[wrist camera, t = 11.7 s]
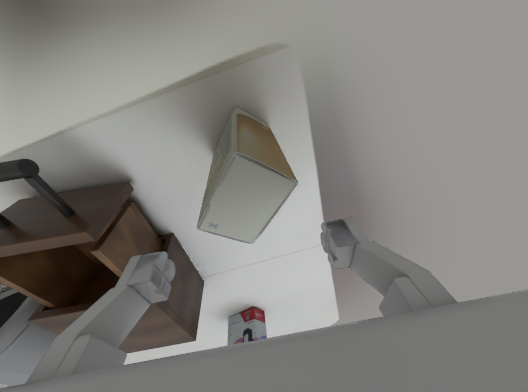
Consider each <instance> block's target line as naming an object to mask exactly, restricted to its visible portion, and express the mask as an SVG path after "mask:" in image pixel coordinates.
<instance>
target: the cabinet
mask: <svg viewBox="0 0 528 392" xmlns="http://www.w3.org/2000/svg"><path fill="white" fill-rule="evenodd" d="M158 237H159V239H160V240H161V242H162V243H163V244H164V246H163V248H162V251H165V252H166V253H167V254H168V259H170V260H172V261H173V262H174V265H175V276H174V279H173V280H172V281H171V282H170V285H171V290H170V294H169V297H168V300H166V301H161V302H156V303H152V304H150V306H149V308H148V309H147V310H146V311H145V313H144V314H143V315H142V317H141V318H140V319H139V321H138V322H137V323H136V325H135V326H134V327H133V329H132V330H131V331H130V333H129V334H128V335H127V336H126V338H125V339H124V340H123V342H122V343H121V344H120V346H119V347H118V349H120V350H122V351H124V352H126V353H132V352H137V351H143V350H148V349H153V348H159V347H164V346H170V345H175V344H181V343H186V342H192V341H196V335H197V328H198V321H199V314H200V307H201V300H202V293H203V286H204V281H203V279H202V278H201V276H200V275H199V273H198V272H197V270H196V268H195V267H194V265H193V264H192V262H191V260H190V259H189V257H188V256H187V254H186V253H185V251H184V249H183V248H182V246H181V245H180V243H179V242H178V240H177V238H176V237H175V235H174V234H173V233H172V234H167V235H161V236H158ZM162 251H161V252H162ZM96 302H97V301H96ZM96 302H91V303H85V304H79V305H74V306H68V307H63V308H57V309H51V308H49V307H47V306H45V305H43V304H40V305H39V307H38V308H37V309H36V310H35V313H33V314H32V315H31V317H30V318H29V319H28V322H30V323H33V324H35V325H37V326H40V327H42V328H44V329H47V330H49V331H51V332H54V333H56V334H58V335H60V334H61V333H62V332H63V331H64V330H65V329H66V328H68V327H69V326H70V325H71V324H72V323H73V322H74V321H75V320H77V319H78V318H79V317H80V316H81V315H82V314H83V313H84V312H85V311H87V310H88V309H89V308H90V307H91V306H92V305H93V304H94V303H96Z"/></svg>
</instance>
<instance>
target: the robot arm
mask: <svg viewBox="0 0 528 392" xmlns="http://www.w3.org/2000/svg"><path fill="white" fill-rule="evenodd" d="M321 229H322V231H323V232H322V233H321V244H322V247H323V249H324V251H325V252H326V253H328V260H329V262H330V264H331V267H332V268H333V270H336V269H342V268H349V267H350V269H351V270H353V271H354V272H355V273H356V274H358V275H359V276H360V277H361V278H362V279H364V280H365V281H366V282H367V283H369V284H370V285H371V286H372V287H374V288H375V289H376V290H377V291H379V292H380V293H381V294H382V295H383V296H385V297H384V299H383V301H382V302H381V304H380V307H379V309H380V311H381V312H382V314H383V316H384V317H379V318H373V319H368V320H363V321H357V322H352V323H347V324H341V325H336V326H330V327H325V328H320V329H314V330H309V331H304V332H298V333H293V334H288V335H282V336H277V337H272V338H266V339H261V340H256V341H250V342H245V343H240V344H234V345H229V346H224V347H218V348H213V349H208V350H202V351H197V352H192V353H186V354H181V355H176V356H170V357H165V358H160V359H154V360H149V361H144V362H138V363H133V364H128V365H123V364H124V362H125V359H126V356H127V355H126V352H124V351H122V350H120V349H118V347H119V346H120V344H121V343H122V342H123V340H124V339H125V338H126V336H127V335H128V334H129V333H130V331H131V330H132V329H133V327H134V326H135V325H136V323H137V322H138V321H139V319H140V318H141V317H142V315H143V314H144V313H145V311H146V310H147V309H148V308H149V306H150V304H152V303H156V302H161V301H166V300H168V297H169V294H170V290H171V285H170V282H171V281H172V280H173V279H174V276H175V265H174V262H173V261H172V260H170V259H168V254H167V253H166V252H165V251H162V252H155V253H148V254H143V255H136V256H133V257H132V258H130V260H129V262H128V264H127V266H126V268H125V269H124V271H123V273H122V275H121V277H120V279H119V281H118V282H117V284H116V286H115V288H111V289H110V290H109V291H108V292H107V293H106V294H105V295H103V296H102V297H101V298H100V299H99V300H98V301H97V302H96V303H94V304H93V305H92V306H91V307H90V308H89V309H88V310H87V311H85V312H84V313H83V314H82V315H81V316H80V317H79V318H78V319H77V320H75V321H74V322H73V323H72V324H71V325H70V326H69V327H68V328H66V329H65V330H64V331H63V332H62V333H61V334H60V335H59V336H57V337H56V338H55V339H54V340H53V342H52V343H51V345H50V346H49V348H48V350H47V351H46V353H45V354H44V356H43V357H42V359H41V360H40V362H39V363H38V365H37V366H36V368H35V369H34V371H33V373H32V374H31V376H30V377H29V379H28V380H27V382H26V383H25V384H21V385H16V386H10V387H5V388H0V392H528V290H523V291H517V292H512V293H507V294H501V295H496V296H491V297H485V298H480V299H474V300H469V301H464V302H457V301H456V300H455V299H454V298H453V297H452V296H451V295H450V293H449V292H448V291H447V290H446V289H445V288H444V287H443V286H442V285H441V284H440V282H439V281H438V280H437V279H436V278H435V277H434V276H433V275H432V274H431V272H430V271H428V270H426V269H424V268H423V267H421V266H419V265H417V264H415V263H413V262H411V261H410V260H408V259H406V258H404V257H402V256H400V255H398V254H396V253H395V252H392V251H391V250H389V249H387V248H385V247H383V246H381V245H379V244H378V243H376V242H374V241H371V242H370V241H369V239H368V238H367V236H366V235H365V234H364V232H363V231H362V230H361V228H360V227H359V226H358V224H357V223H356V222H355V220H354V219H353V218H351V217H350V218H345V219H339V220H334V221H329V222H323V223H322V224H321Z"/></svg>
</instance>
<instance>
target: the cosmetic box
mask: <svg viewBox="0 0 528 392" xmlns="http://www.w3.org/2000/svg"><path fill="white" fill-rule="evenodd" d="M297 184H298V181H297V180H296V178H295V176H294V174H293V172H292V170H291V168H290V166H289V164H288V162H287V160H286V158H285V156H284V154H283V152H282V150H281V148H280V146H279V144H278V142H277V140H276V139H275V137H274V135H273V133H272V131H271V129H270V127H269V126H268V125H267V124H265V123H264V122H262V121H260V120H259V119H257V118H255V117H254V116H252V115H250V114H249V113H247V112H245V111H243V110H242V109H240V108H238V107H235V108H234V109H233V112H232V114H231V116H230V118H229V120H228V122H227V124H226V126H225V129H224V131H223V133H222V136H221V138H220V140H219V143H218V145H217V148H216V150H215V153H214V156H213V160H212V164H211V169H210V173H209V177H208V182H207V186H206V190H205V194H204V198H203V203H202V207H201V211H200V216H199V220H198V224H197V229H198V230H201V231H205V232H208V233H211V234H215V235H219V236H222V237H226V238H229V239H233V240H237V241H240V242H245V243H249V244H253V243H254V242H255V240H256V239H257V238H258V237H259V236H260V235H261V233H262V232H263V231H264V230H265V228H266V227H267V226H268V224H269V223H270V222H271V220H272V219H273V218H274V216H275V215H276V214H277V212H278V211H279V209H280V208H281V207H282V205H283V204H284V203H285V201H286V200H287V198H288V197H289V195H290V194H291V192H292V191H293V190H294V188H295V187H296V185H297Z"/></svg>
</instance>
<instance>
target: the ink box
mask: <svg viewBox="0 0 528 392" xmlns="http://www.w3.org/2000/svg"><path fill="white" fill-rule="evenodd" d="M266 338H267V335H266V325H265V315H264V311H262V310H259V309H257V308H255V307H252V308H250V309H247V310H245V311H243V312H241V313H238V314H236V315H234V316H231V317H229V318H228V346H229V345H234V344H240V343H245V342H250V341H256V340H261V339H266Z"/></svg>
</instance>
